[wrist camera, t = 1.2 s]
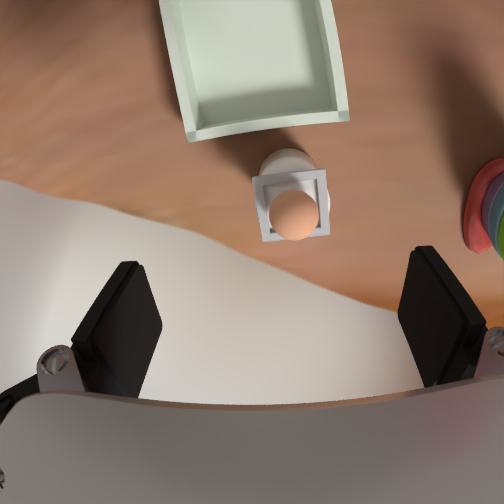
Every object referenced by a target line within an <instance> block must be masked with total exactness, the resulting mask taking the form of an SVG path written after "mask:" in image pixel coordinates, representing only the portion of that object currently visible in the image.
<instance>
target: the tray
mask: <svg viewBox="0 0 504 504" xmlns="http://www.w3.org/2000/svg"><path fill="white" fill-rule="evenodd" d="M159 5H160V10H161V16H162V21H163V26H164V31H165V37H166V42H167V47H168V52H169V57H170V62H171V67H172V72H173V76H174V81H175V86H176V91H177V95H178V100H179V105H180V109H181V114H182V118H183V123H184V127H185V131H186V136H187V140H188V143H191V142H195V141H200V140H205V139H211V138H216V137H221V136H227V135H233V134H239V133H245V132H251V131H258V130H265V129H272V128H280V127H288V126H297V125H306V124H317V123H328V122H341V121H350V120H349V110H348V101H347V93H346V85H345V78H344V71H343V64H342V57H341V51H340V45H339V39H338V34H337V28H336V23H335V18H334V13H333V8H332V4H331V0H159Z"/></svg>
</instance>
